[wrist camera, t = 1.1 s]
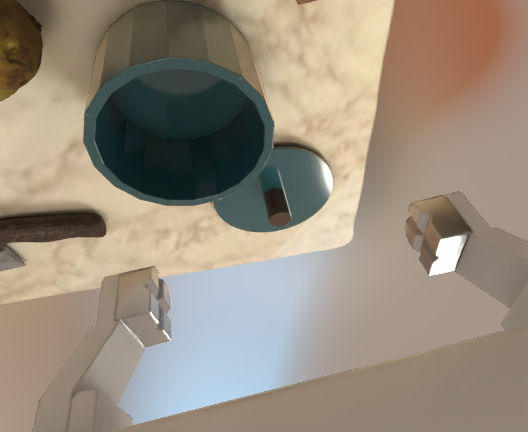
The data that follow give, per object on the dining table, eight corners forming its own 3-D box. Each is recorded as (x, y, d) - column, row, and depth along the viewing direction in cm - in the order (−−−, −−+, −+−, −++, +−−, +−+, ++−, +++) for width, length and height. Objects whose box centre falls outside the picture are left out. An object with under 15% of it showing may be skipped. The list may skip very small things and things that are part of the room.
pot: (60, 23, 30) (38, 88, 25) (241, -20, 30) (260, 35, 24) (135, 156, 41) (132, 220, 36) (267, 125, 41) (284, 185, 36)
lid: (197, 160, 43) (200, 193, 40) (330, 129, 43) (343, 159, 40) (227, 236, 56) (231, 265, 52) (331, 212, 55) (341, 240, 52)
